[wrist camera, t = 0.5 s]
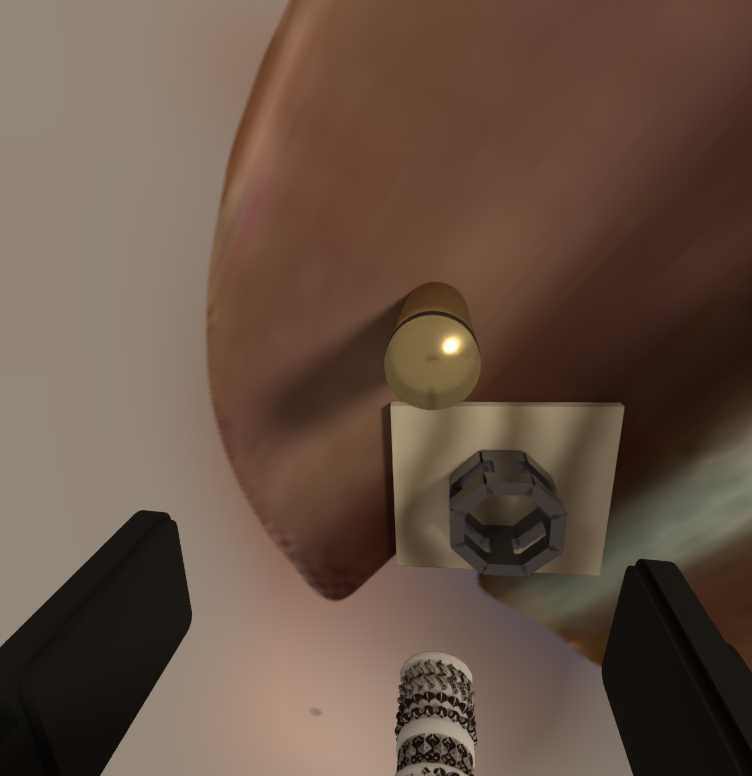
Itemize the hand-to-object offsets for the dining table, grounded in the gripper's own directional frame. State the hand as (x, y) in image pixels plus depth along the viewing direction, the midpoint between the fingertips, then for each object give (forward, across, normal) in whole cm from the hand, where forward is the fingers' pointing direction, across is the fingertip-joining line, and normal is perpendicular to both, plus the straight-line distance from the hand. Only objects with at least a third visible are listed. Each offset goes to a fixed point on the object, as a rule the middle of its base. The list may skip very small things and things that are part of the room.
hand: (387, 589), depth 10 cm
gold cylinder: (+33, 0, +1) cm, 33 cm away
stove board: (+33, -7, +18) cm, 38 cm away
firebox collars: (+33, -7, +18) cm, 38 cm away
